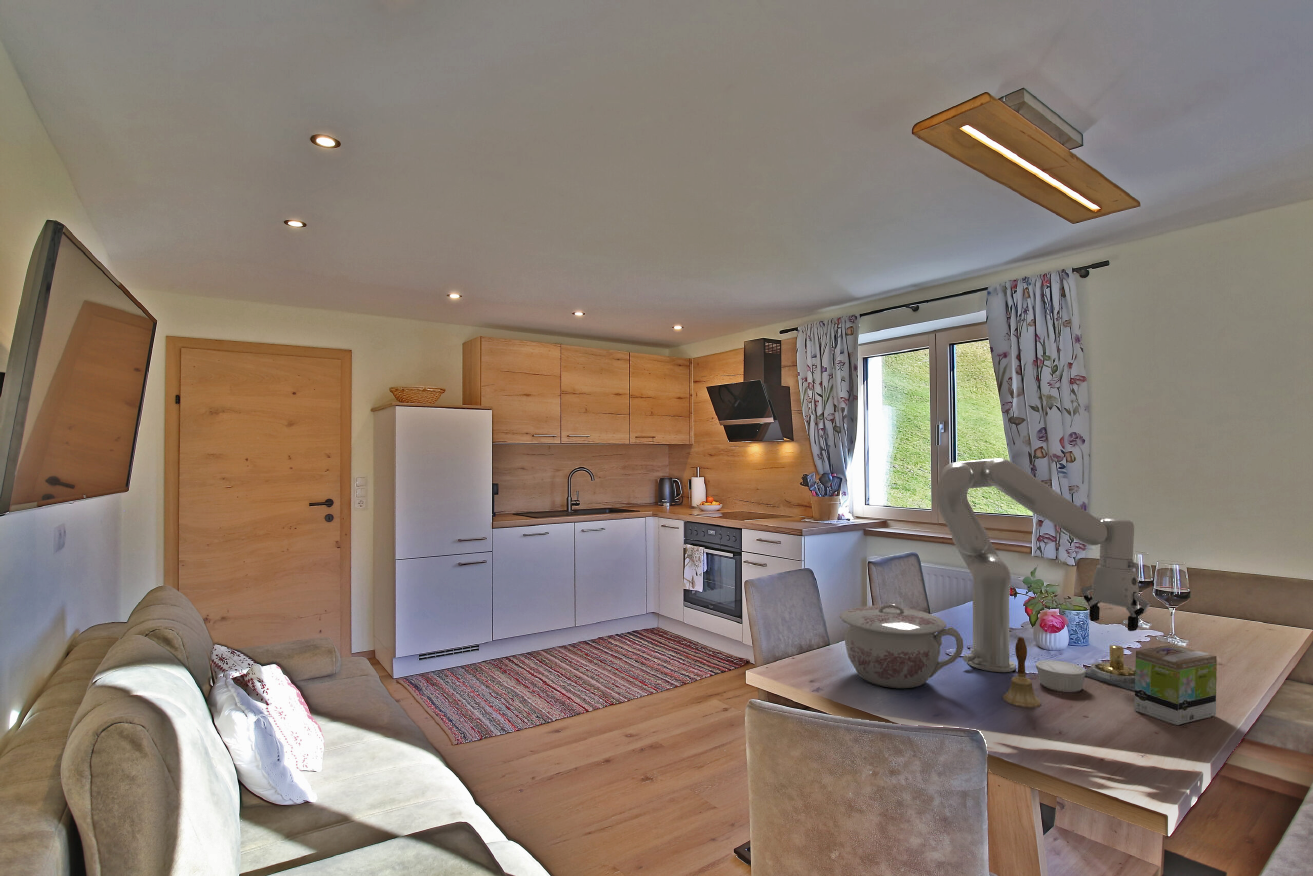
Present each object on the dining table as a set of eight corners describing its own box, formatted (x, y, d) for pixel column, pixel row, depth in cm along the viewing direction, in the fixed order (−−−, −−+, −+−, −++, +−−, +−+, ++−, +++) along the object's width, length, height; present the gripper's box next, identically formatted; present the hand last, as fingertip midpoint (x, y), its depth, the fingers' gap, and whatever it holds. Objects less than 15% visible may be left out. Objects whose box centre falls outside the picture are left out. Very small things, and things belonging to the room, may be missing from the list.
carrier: (1149, 696, 168) (1149, 677, 168) (1081, 675, 183) (1081, 657, 183) (1175, 688, 174) (1175, 669, 174) (1106, 668, 189) (1106, 651, 189)
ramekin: (1026, 682, 178) (1026, 662, 178) (1054, 676, 182) (1054, 657, 182) (1066, 697, 168) (1066, 676, 168) (1095, 690, 172) (1095, 670, 172)
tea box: (1180, 727, 150) (1179, 662, 150) (1133, 711, 159) (1132, 649, 159) (1218, 716, 156) (1217, 654, 156) (1170, 701, 165) (1170, 642, 165)
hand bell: (1040, 710, 159) (1040, 644, 159) (1001, 703, 163) (1001, 638, 164) (1041, 699, 166) (1041, 635, 166) (1004, 692, 170) (1004, 630, 171)
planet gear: (1124, 681, 175) (1124, 653, 175) (1092, 671, 183) (1092, 644, 183) (1141, 676, 179) (1141, 649, 179) (1109, 667, 186) (1109, 641, 186)
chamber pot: (819, 669, 188) (819, 596, 188) (898, 659, 197) (898, 589, 197) (885, 706, 161) (885, 621, 161) (972, 692, 171) (972, 612, 171)
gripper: (1158, 569, 175) (1155, 633, 175) (1091, 557, 190) (1088, 616, 191) (1142, 570, 172) (1139, 636, 172) (1075, 558, 187) (1072, 618, 187)
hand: (1112, 625), depth 181 cm, fingers open, 9 cm apart
